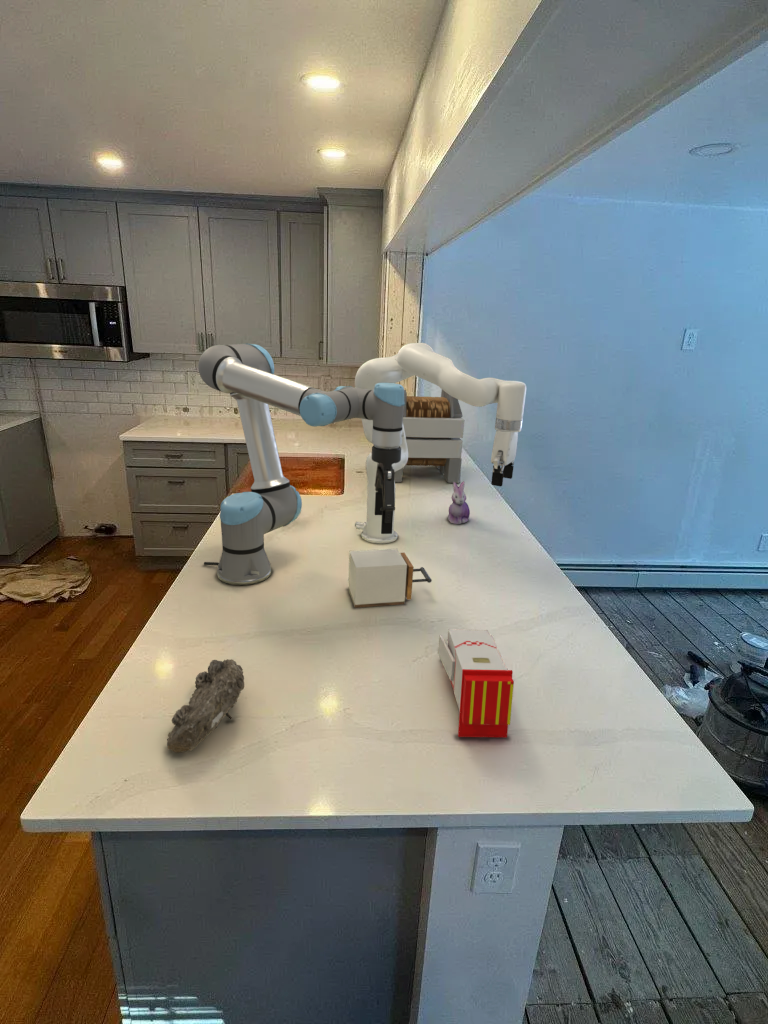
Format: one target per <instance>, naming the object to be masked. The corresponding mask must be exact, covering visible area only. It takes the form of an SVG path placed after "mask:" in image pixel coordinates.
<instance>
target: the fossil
mask: <svg viewBox="0 0 768 1024" xmlns="http://www.w3.org/2000/svg"><path fill="white" fill-rule="evenodd" d="M243 670H244V669H243V667H242V665H240V664H237V662H236V661H235V660H234V659H232V658H231V659H227V658H226V659H224V660H223V661H222V660H217V659H212V660H211V661H210V663H209V665H208V666H207V671H201V672H199V673H198V674H197V675H196V676H195V680H194V684H195V685H194V687H195V689H194V690H193V693H192V694H191V697H190V698H189V700H188V704H184V705H182V706H181V707H180V709H177V710H176V711H175V713H174V715H173V716H172V718H171V723H172V724H173V727H172V730H171V731H170V732H168V734H167V738H166V741H167V742H166V745H167V749H168V750H169V751H173V752H174V753H176V754H178V753H182V752H188V751H189V752H192V751H193V750H195V748H196V747H197V746H199V744H200V743H201V742H203V741H204V740H205V739H206V738H207V737H208V736H209V735H210V734H211V733H212V732H214V730H215V729H217V727H218V726H219V724H220V722H221V721H222V720H223V719H224V718H225V716H226V717H227V719H229V720H233V717H232V715H230V714H229V710H230V709H231V708H234V706H235V704H236V703H237V702H238V699H239V697H240V695H241V693H242V691H243V690H245V689H244V688H245V675H244V671H243Z"/></svg>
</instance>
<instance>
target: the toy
mask: <svg viewBox="0 0 768 1024" xmlns="http://www.w3.org/2000/svg"><path fill="white" fill-rule="evenodd" d="M446 640H447V643H446V641H445V639H444V636H443V635H442V634H439V637H438V646H437V656H438V657H439V659H440V661H441V663H442V666H443V668H444V670H445V672H446V674H447V677H448V679H449V681H450V684H451V687H452V690H453V693H454V697H455V701H456V705H457V708H458V711H459V714H458V715H459V716H458V730H457V731H458V732H457V737H458V738H508V731H509V726H510V725H511V717H512V707H513V697H514V696H513V695H514V684H515V680H514V679H513V673H514V671H513V670H512V669H508V667H507V665H506V662H505V661H504V659H503V658H502V655H501V653H500V651H499V649H498V647H497V643H496V639H495V637H494V635H493V634H491V632H490V631H489V629H467V628H466V629H465V628H463V629H461V628H460V629H459V628H448V630H447V639H446Z"/></svg>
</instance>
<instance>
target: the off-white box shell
mask: <svg viewBox="0 0 768 1024" xmlns="http://www.w3.org/2000/svg"><path fill="white" fill-rule="evenodd" d="M400 553H401V552H400V551H399V549H398V548H383V549H364V550H363V549H362V550H361V549H360V550H349V552H348V554H349V555H348V559H349V560H348V561H349V562H348V587H347V588H348V589H347V590H348V593H349V596H350V598H351V601H352V604H353V608H355V609H358V608H359V609H360V608H372V607H387V606H399V605H405V602H406V597H405V587H406V571H407V564H406V562H405V561H404V559H403V557H402V556H401V554H400Z"/></svg>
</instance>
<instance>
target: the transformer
mask: <svg viewBox="0 0 768 1024" xmlns="http://www.w3.org/2000/svg"><path fill="white" fill-rule="evenodd" d="M440 393H441V394H440V396H415V395H414V396H413V395H412V396H411V395H407V394H408V393H407V390H406V389H404V402H405V405H404V411H403V426H404V431H405V437H406V443H407V449H408V461H407V463H406V465H405V466H406V467H407V466H411V467H412V466H413V467H415V466H416V467H417V466H418V467H436V468H437V470H438V469H439V473H440V474H441V475H443V478H444V479H445V481H446V482H447V483H449V484H453V483H454V482H455V483H456V484H459V483H461V472H462V461H463V460H462V453H463V442H464V441H463V440H462V439H463V438H464V431H465V430H464V429H465V419H464V418H463V411H462V408H461V405H460V402H459V400H458V399H456V398H454V397H452V396H451V395H449V394H448V393H446V392H445V391H444V390H442V389H441V392H440ZM405 466H404V467H403V468H402V469H400V470H398V471H396V472H395V474H394V480H395V483H402V482H403V475H404V469H405Z"/></svg>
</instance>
